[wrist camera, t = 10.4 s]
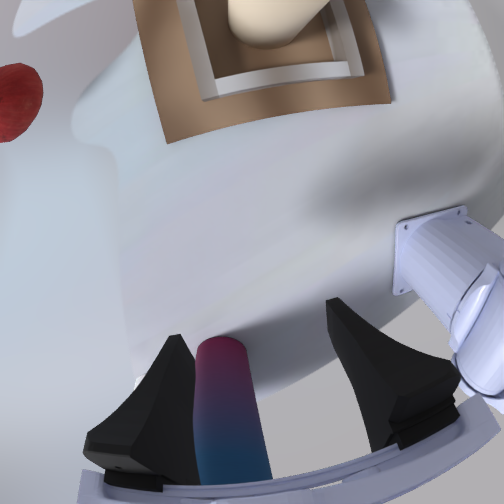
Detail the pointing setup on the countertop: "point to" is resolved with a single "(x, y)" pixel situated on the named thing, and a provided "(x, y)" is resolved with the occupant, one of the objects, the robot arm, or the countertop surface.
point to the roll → (270, 20)
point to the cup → (227, 416)
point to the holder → (254, 65)
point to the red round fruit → (18, 99)
